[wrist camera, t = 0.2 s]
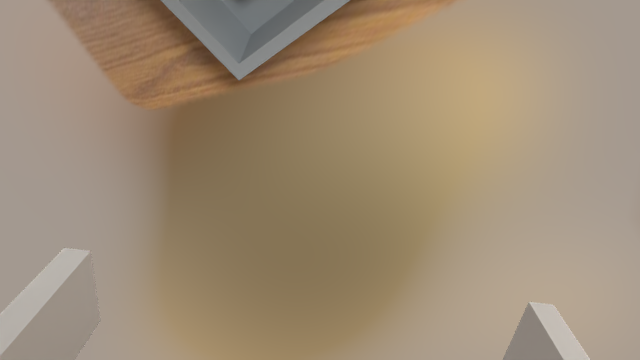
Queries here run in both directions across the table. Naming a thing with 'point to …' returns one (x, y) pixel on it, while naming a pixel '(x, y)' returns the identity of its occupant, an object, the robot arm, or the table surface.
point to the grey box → (249, 26)
